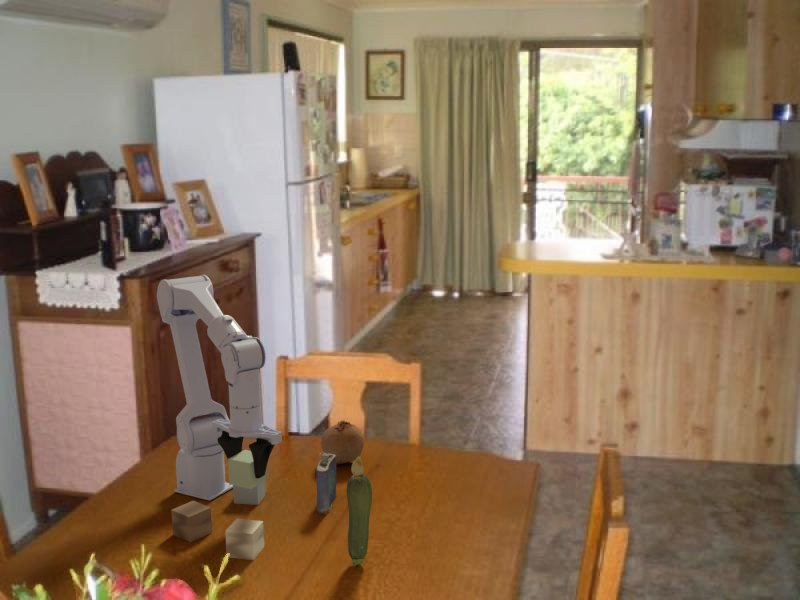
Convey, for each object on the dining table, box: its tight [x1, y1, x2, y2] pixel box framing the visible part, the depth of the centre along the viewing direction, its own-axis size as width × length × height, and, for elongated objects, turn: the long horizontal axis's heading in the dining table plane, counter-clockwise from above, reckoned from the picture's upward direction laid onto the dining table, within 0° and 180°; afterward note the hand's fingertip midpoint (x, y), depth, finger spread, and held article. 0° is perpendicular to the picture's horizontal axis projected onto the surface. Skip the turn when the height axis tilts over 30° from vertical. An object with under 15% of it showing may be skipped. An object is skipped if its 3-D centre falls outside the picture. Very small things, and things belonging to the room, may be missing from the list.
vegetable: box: [346, 455, 373, 567], centre depth 151 cm, size 4×4×20 cm
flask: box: [315, 451, 337, 515], centre depth 175 cm, size 9×3×11 cm, turn 172°
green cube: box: [227, 449, 268, 489], centre depth 166 cm, size 5×5×5 cm
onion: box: [320, 420, 365, 465], centre depth 195 cm, size 10×9×10 cm
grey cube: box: [232, 481, 266, 506], centre depth 178 cm, size 5×5×5 cm
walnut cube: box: [170, 500, 213, 544], centre depth 163 cm, size 5×5×5 cm
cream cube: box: [224, 518, 265, 561], centre depth 156 cm, size 5×5×5 cm
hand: (248, 473), depth 166 cm, fingers closed on green cube, 5 cm apart
